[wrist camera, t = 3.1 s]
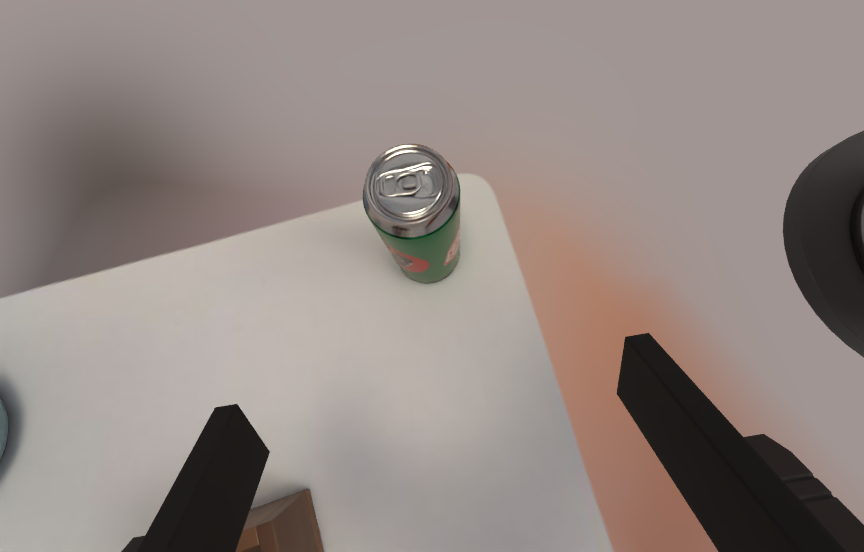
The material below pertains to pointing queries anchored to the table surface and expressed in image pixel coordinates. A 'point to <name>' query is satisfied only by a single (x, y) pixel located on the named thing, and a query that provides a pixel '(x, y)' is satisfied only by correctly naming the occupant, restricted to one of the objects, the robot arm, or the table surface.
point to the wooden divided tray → (282, 526)
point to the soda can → (416, 210)
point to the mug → (3, 427)
